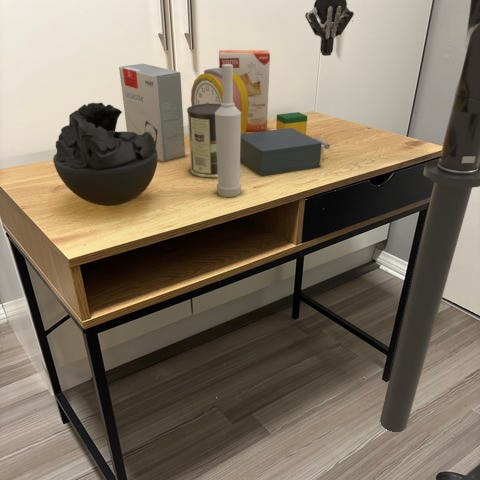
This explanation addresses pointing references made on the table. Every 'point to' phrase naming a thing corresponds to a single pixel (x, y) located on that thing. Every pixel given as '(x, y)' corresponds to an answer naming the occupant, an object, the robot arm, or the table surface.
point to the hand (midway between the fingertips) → (326, 55)
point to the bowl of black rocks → (104, 157)
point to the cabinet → (279, 151)
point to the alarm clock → (220, 92)
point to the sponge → (292, 121)
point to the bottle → (228, 139)
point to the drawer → (324, 145)
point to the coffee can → (203, 139)
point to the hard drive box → (154, 107)
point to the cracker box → (251, 82)
